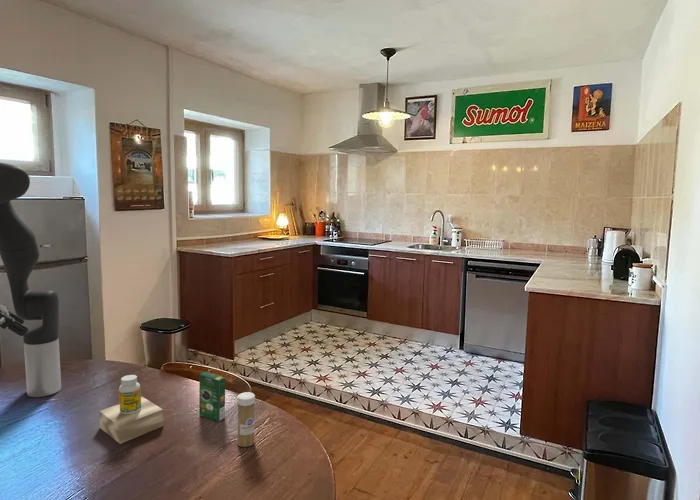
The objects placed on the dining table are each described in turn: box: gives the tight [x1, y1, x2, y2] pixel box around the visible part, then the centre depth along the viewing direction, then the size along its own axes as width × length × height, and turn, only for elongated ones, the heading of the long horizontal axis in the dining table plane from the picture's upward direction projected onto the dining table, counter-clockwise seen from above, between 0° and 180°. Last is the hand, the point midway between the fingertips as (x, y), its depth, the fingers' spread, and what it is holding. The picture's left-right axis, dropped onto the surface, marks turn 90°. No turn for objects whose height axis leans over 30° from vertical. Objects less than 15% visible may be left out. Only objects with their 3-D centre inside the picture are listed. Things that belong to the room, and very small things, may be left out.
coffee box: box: [198, 371, 226, 423], centre depth 132 cm, size 8×3×13 cm, turn 63°
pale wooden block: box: [98, 395, 164, 445], centre depth 126 cm, size 12×12×5 cm
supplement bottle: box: [118, 374, 142, 414], centre depth 125 cm, size 5×5×10 cm
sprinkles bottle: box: [236, 391, 256, 448], centre depth 119 cm, size 5×5×13 cm
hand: (23, 328), depth 113 cm, fingers open, 8 cm apart
